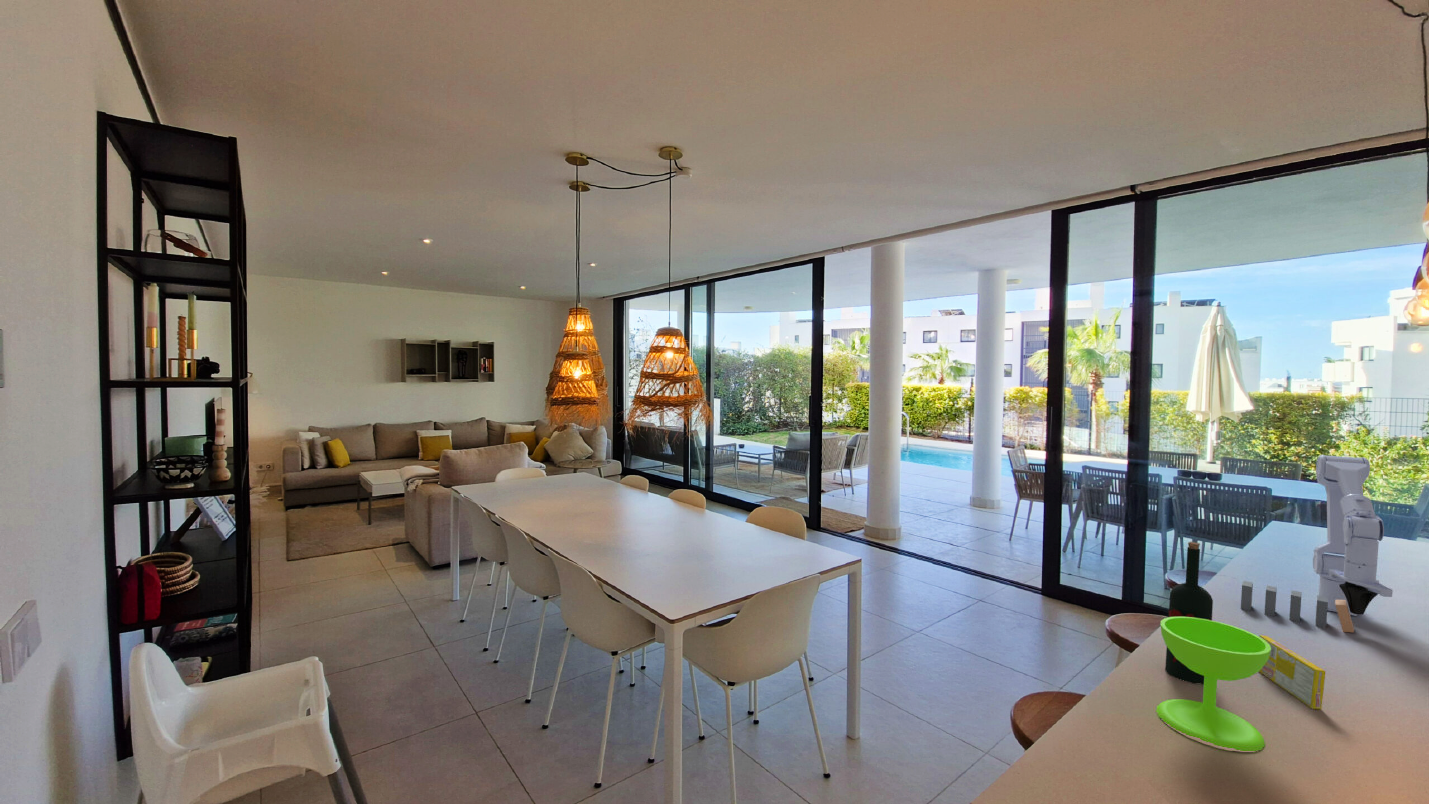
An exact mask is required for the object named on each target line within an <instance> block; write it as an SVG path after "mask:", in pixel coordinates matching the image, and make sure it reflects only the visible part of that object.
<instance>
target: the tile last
mask: <svg viewBox="0 0 1429 804" xmlns="http://www.w3.org/2000/svg"><path fill="white" fill-rule="evenodd" d="M1253 585H1254V582H1252V581H1247V580H1243V582H1242V584H1241V595H1240V596H1241V597H1240V609H1241V610H1245V611H1248V612H1249V611H1251V609H1252V604H1253V603H1252V602H1253V587H1254V586H1253Z"/></svg>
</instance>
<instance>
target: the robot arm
mask: <svg viewBox="0 0 1429 804" xmlns="http://www.w3.org/2000/svg"><path fill="white" fill-rule="evenodd" d="M1315 467H1316V468H1315V469H1316V470H1315V474H1316V476H1315V477H1316V482H1317V484H1319V485H1322V486H1323V487H1324V488H1325V492H1326V519H1327V520H1326V523H1327V524H1326V526H1327V527H1326V531H1327V535H1326V536H1327V537H1326V538H1327V541H1326V543H1323V544H1320V545H1318V546H1316V547H1315V549H1314V550H1313V557H1312V569H1313V571H1314V572H1315V574H1316V575H1319V581H1318V583H1319V585H1318V596H1323V597H1328V609H1327V611H1329V612H1335V613H1338V612H1337V609H1336V605H1335V600H1346V602H1347V605H1348V609H1349V612H1350V616H1355V617H1356V616H1357V617H1358V615H1361V616H1363V615H1365V614H1364V613H1365V612H1366V610H1367V608H1368V606H1369V604H1370V603H1371V602H1372V600H1374V598H1375V597H1376V596H1378V595H1379V596H1381V597H1383V598H1385V597H1387V598H1392V597H1393V591H1394V590H1393V589H1392V588H1390V587H1387V586H1386V585H1383V584H1382V583H1380V580H1377V572H1378V571H1377V569H1378V559H1379V543H1380V542H1381V541H1382V540H1383V539H1384V537H1385V536H1384V535H1385V527H1384V525H1385V524H1384V521H1383V519H1382V518H1380V516H1379V515H1376V513H1375V510H1374V507H1373V503H1372V500H1371V499H1370V498H1369V497H1367V496H1366V495H1364V491H1363V490H1364V489H1363V484H1365V482H1366V481H1367V479H1368V477H1369V475H1370V472H1371V465H1370V461H1369V459H1367V458H1366V457H1356V456H1355V457H1352V456H1337V455H1325V454H1320V455H1319V456H1318V457H1317V459H1316V464H1315ZM1316 606H1317V597H1316V598H1315V607H1316Z"/></svg>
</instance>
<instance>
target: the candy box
mask: <svg viewBox="0 0 1429 804" xmlns="http://www.w3.org/2000/svg"><path fill="white" fill-rule="evenodd" d="M1258 636H1259V637H1260V638H1262V639H1264V640H1265V641H1266V642H1267V643H1268V644H1269V645H1270V647H1271V652H1270V655H1269V659H1268V661H1267V662H1266V663H1265V665H1264V666H1263V667H1262V669H1261V670H1260V671H1259V672H1258V673H1260V674H1262V675H1264V676H1265V677H1266V678H1268V679H1269V680H1270V679H1271V682H1273V683H1275V684H1276V685H1278V686H1279V687H1280V688H1282V689H1283V690H1284V691H1286V692H1288V693H1289V694H1291V696H1293V697H1295V699H1297V700H1299V701H1301V703H1303V704H1305V705H1306V706H1307V707H1309V708H1310V709H1311V708H1312V710H1322V705H1323V700H1324V699H1323V697H1324V690H1325V682H1326V681H1325V680H1326V670H1324V669H1322V668H1321V667H1319V666H1317V665H1316V664H1314V663H1313V662H1311V661H1310V660H1308V659H1306V658H1304V657H1303V656H1301V655H1299V654H1298V653H1296V652H1294V651H1293V650H1291V649H1290V648H1287V647H1286V646H1284V645H1283V644H1281V643H1279V642H1278V641H1276V640H1274V639H1273V638H1272V637H1269V636H1268V635H1261V634H1259V635H1258Z"/></svg>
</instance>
